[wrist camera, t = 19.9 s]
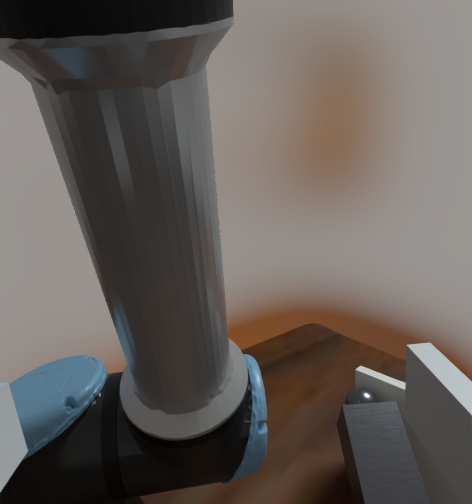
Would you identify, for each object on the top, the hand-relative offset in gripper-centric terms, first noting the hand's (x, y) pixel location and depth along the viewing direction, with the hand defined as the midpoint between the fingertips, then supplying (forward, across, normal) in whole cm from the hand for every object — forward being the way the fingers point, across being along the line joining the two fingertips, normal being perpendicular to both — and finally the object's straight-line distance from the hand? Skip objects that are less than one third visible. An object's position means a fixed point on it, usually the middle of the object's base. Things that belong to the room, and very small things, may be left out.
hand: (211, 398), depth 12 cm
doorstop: (+14, +14, -31) cm, 37 cm away
